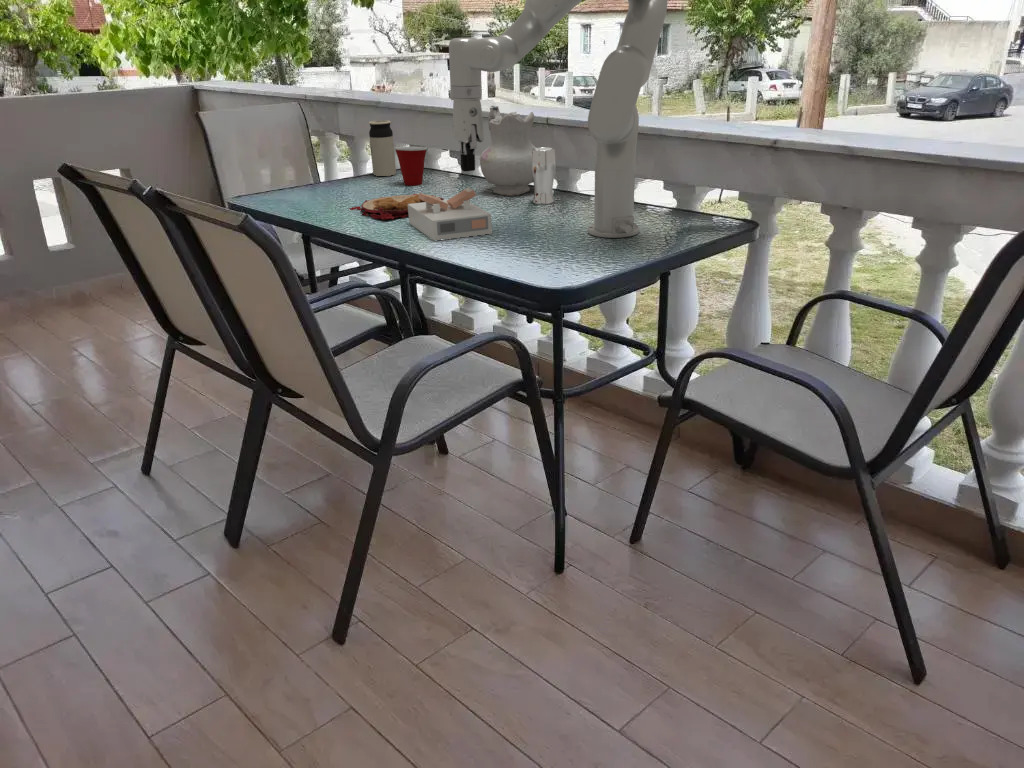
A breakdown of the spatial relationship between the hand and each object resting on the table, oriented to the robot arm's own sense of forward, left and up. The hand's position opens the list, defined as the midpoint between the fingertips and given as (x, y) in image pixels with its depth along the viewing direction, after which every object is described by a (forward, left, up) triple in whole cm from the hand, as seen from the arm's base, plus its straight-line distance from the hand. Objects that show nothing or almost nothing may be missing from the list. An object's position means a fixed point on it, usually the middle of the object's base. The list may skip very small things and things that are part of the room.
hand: (468, 170), depth 199 cm
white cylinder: (+17, -28, -14) cm, 36 cm away
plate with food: (+31, +10, -15) cm, 36 cm away
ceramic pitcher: (+38, -26, -14) cm, 48 cm away
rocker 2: (0, +2, -7) cm, 8 cm away
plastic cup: (+65, -3, -14) cm, 66 cm away
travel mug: (+87, +1, -14) cm, 88 cm away
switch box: (0, +6, -14) cm, 15 cm away
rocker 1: (0, +10, -7) cm, 12 cm away
